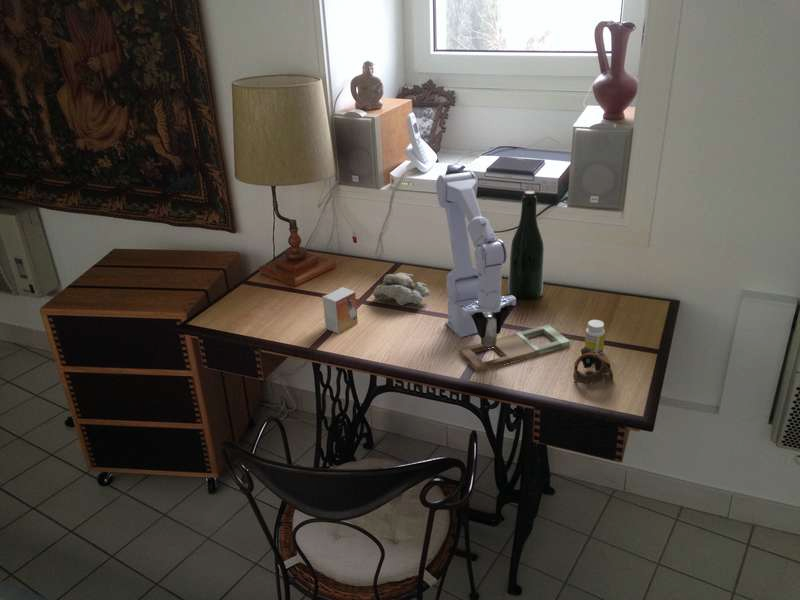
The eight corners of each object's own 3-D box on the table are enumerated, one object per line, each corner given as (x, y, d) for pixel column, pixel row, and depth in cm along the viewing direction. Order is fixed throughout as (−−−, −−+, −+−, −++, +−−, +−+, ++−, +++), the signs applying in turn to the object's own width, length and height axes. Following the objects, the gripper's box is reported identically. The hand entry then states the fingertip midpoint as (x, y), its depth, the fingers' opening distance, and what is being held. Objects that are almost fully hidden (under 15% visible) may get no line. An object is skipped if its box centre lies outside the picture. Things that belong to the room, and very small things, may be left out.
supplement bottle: (599, 345, 182) (602, 318, 178) (605, 355, 178) (608, 327, 174) (581, 346, 182) (584, 319, 178) (586, 356, 178) (589, 328, 174)
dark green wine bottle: (526, 283, 216) (531, 183, 201) (549, 295, 208) (556, 192, 193) (500, 292, 212) (503, 190, 196) (523, 305, 204) (527, 200, 188)
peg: (478, 340, 178) (478, 314, 174) (491, 337, 180) (492, 310, 176) (485, 348, 175) (486, 321, 171) (499, 344, 176) (500, 317, 173)
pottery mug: (622, 386, 166) (615, 369, 160) (587, 404, 167) (578, 387, 162) (600, 351, 175) (593, 333, 169) (567, 368, 176) (558, 351, 170)
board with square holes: (459, 353, 181) (459, 348, 181) (547, 329, 191) (548, 323, 190) (477, 372, 173) (477, 367, 172) (569, 345, 183) (569, 340, 182)
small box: (338, 334, 193) (335, 302, 188) (325, 328, 197) (321, 296, 192) (358, 323, 198) (355, 291, 193) (345, 317, 202) (342, 286, 197)
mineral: (423, 308, 200) (428, 274, 200) (367, 301, 203) (371, 267, 203) (431, 308, 212) (435, 277, 212) (377, 301, 215) (381, 270, 215)
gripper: (471, 300, 164) (471, 348, 170) (523, 287, 169) (521, 334, 175) (458, 288, 170) (458, 335, 176) (508, 276, 175) (506, 322, 181)
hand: (488, 334), depth 176 cm, fingers closed on peg, 4 cm apart
